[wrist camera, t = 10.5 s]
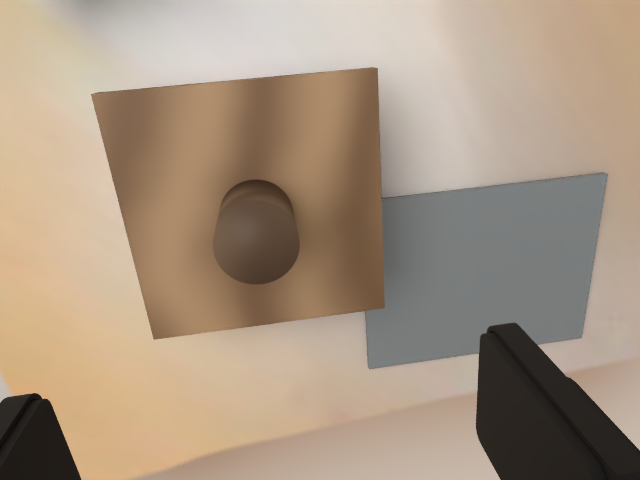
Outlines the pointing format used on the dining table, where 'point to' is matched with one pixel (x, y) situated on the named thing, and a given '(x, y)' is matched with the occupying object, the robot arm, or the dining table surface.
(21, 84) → the dining table surface
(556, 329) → the mat
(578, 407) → the robot arm
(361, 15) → the dining table surface
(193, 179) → the lid
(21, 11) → the dining table surface
